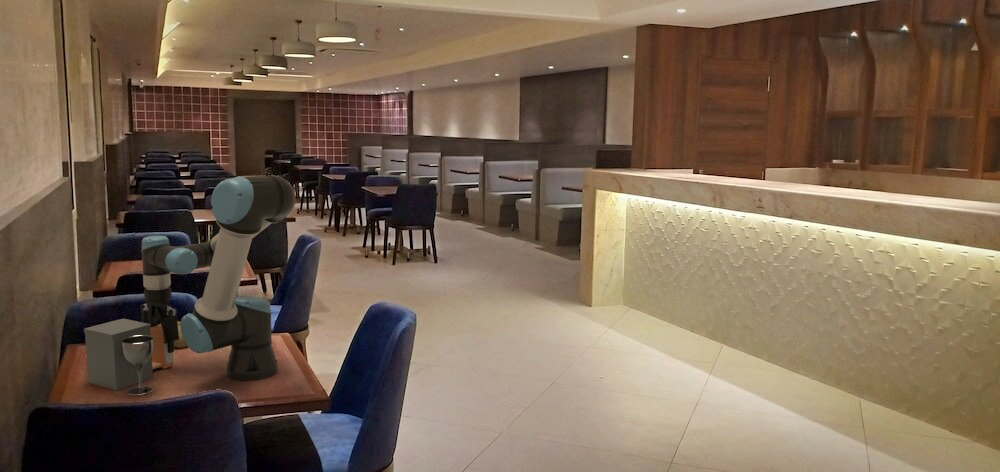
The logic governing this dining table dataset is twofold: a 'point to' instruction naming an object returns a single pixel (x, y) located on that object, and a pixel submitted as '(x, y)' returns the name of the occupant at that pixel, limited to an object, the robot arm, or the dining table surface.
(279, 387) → the dining table surface
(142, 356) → the wine glass
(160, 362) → the l-shaped block
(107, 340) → the gray box
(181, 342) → the bread roll
